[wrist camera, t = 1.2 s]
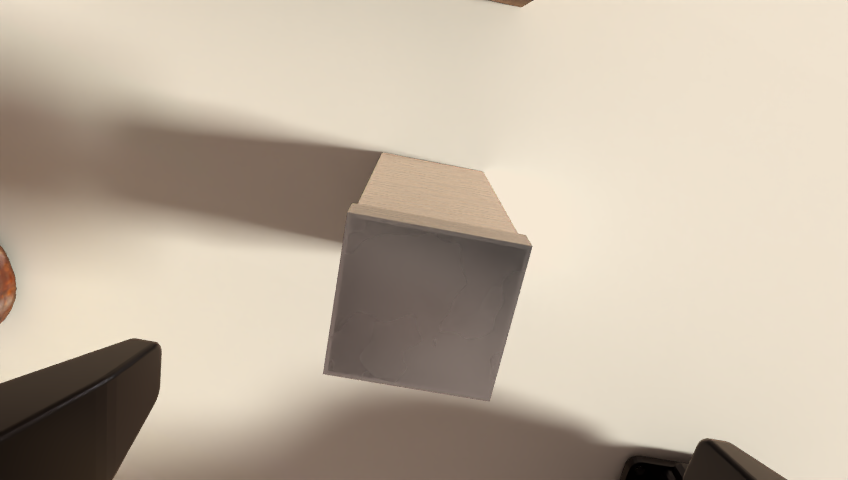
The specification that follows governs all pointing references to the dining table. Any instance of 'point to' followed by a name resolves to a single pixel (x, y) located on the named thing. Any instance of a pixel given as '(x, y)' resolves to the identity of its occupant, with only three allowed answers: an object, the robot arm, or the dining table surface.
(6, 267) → the sauce bottle
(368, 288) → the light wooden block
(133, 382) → the robot arm
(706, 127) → the dining table surface
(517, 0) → the well board
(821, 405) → the dining table surface
